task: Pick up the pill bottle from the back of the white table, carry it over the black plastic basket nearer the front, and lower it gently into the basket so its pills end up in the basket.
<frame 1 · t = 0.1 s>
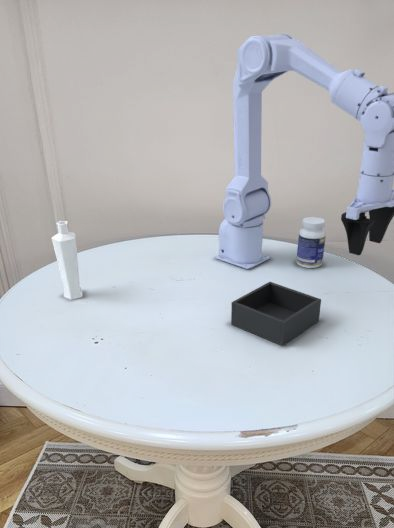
hand: (365, 247, 98), 10 cm above the table, tool pointing down, fingers open, 7 cm apart
pill bottle: (309, 264, 118), on the table
basket: (275, 323, 96), on the table
perfume bottle: (74, 295, 107), on the table
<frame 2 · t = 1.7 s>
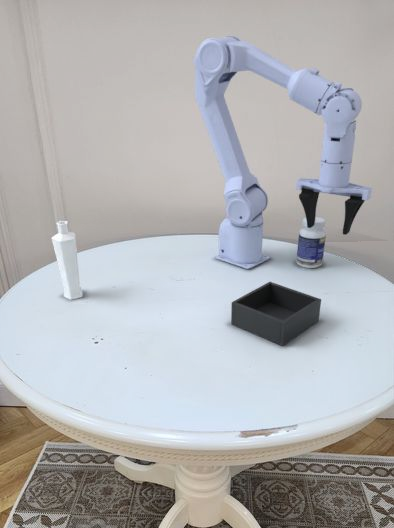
hand: (328, 229, 108), 10 cm above the table, tool pointing down, fingers open, 7 cm apart
pill bottle: (309, 264, 118), on the table, touching gripper
everything else where it was.
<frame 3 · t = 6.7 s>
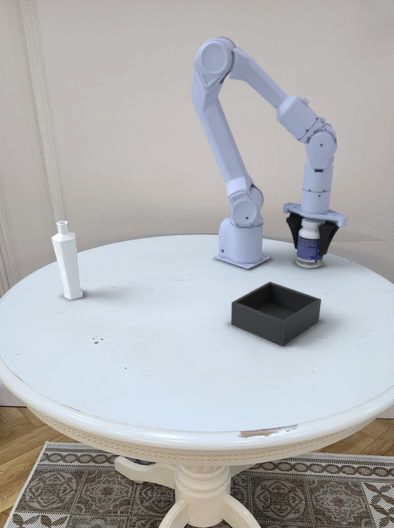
hand: (310, 251, 116), 3 cm above the table, tool pointing down, fingers closed on pill bottle, 5 cm apart
pill bottle: (308, 264, 118), on the table, touching gripper
everything else where it was.
when the fingers open (3 cm above the table, at t = 12.6 s): pill bottle stays where it is, resting on basket.
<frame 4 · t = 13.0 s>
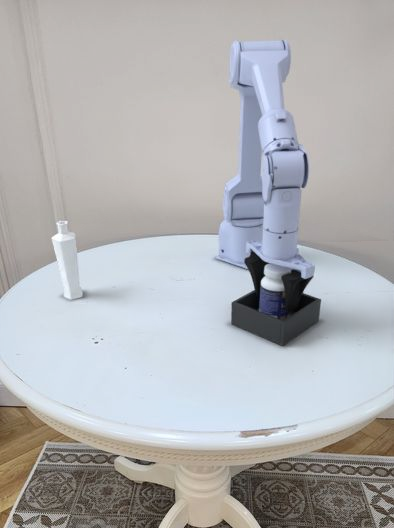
hand: (275, 301, 94), 4 cm above the table, tool pointing down, fingers open, 7 cm apart
pill bottle: (274, 319, 96), resting on basket
everything else where it was.
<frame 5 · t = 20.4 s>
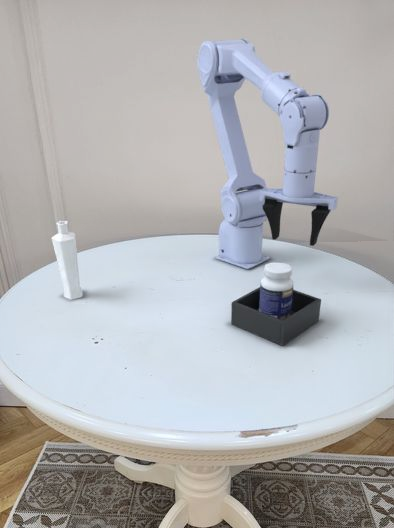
hand: (294, 240, 104), 9 cm above the table, tool pointing down, fingers open, 7 cm apart
nothing on the table moved.
at the end: pill bottle 0.8 cm off-centre in the basket, point 0.3 cm above the basket's base; pill bottle tilted 0°; the gripper is holding nothing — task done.
